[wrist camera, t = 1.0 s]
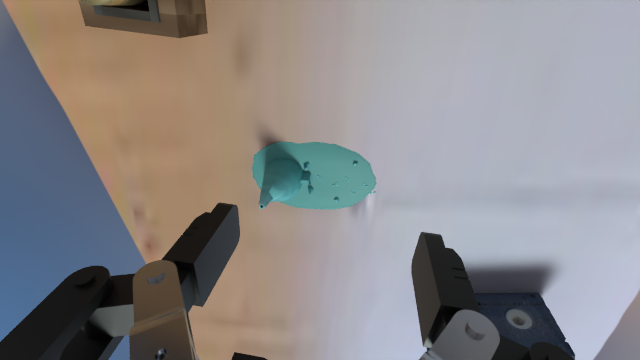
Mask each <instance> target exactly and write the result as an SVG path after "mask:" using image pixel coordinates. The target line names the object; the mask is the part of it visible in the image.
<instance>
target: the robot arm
mask: <svg viewBox="0 0 640 360" xmlns="http://www.w3.org/2000/svg"><path fill="white" fill-rule="evenodd" d="M239 237H240V227H239V216H238V207H237V205H233V204H226V203H218V204H217V205H216V207H215V208H214V209H213V210H212V212H211V213H208V212H205V213H204V214H202V215H200V216H199V217H197V218H196V219H195V220H194V221H193V222H192V223H191V224H190V226H189V228H187V229H186V231H185V232H184V233H183V235H181V237H180V238H179V239H178V240H177V241H176V243H175V244H174V245H173V246H172V248H171V249H170V250H169V251H168V252H167V254H166V255H165V256H164V257H163V258H162V260H158V261H154V262H151V263H148V264H146V265H145V266H143V267H142V268H141V269H139V270H138V271H137V272H136V273H135V274H127V275H117V276H111V275H110V273H109V271H108V269H107V268H105V267H103V266H90V267H86V268H83V269H80V270H78V271H76V272H74V273H72V274H71V275H70V276H68V277H67V278H66V279H65V280H64V281H63V282H62V283H61V284H60V285H59V286H58V287H56V289H55V290H53V291H52V292H51V293H50V294H49V295H48V296H47V297H46V298H45V299H44V300H43V301H42V302H41V303H40V304H39V305H38V306H37V307H36V308H35V309H34V310H33V311H32V312H31V313H30V314H29V315H28V316H27V317H25V318H24V319H23V320H22V321H21V322H20V323H19V324H18V325H17V326H16V327H15V328H14V329H13V330H12V331H11V332H10V333H9V334H8V335H7V336H6V337H5V338H4V339H3V340H2V341H1V342H0V360H108V359H109V358H110V356H111V355H112V353H113V352H114V350H115V349H116V347H117V346H118V344H119V343H120V341H121V340H122V339H123V337H124V336H125V335H129V340H130V341H129V343H130V360H197V355H196V350H195V345H194V340H193V335H192V330H191V325H190V320H189V315H188V312H189V311H190V309H191V307H192V306H193V305H195V306H201V307H203V306H204V304H205V302H206V300H207V298H208V297H209V295H210V293H211V291H212V289H213V288H214V286H215V284H216V282H217V280H218V279H219V277H220V275H221V273H222V271H223V270H224V268H225V266H226V264H227V262H228V261H229V259H230V257H231V255H232V254H233V252H234V250H235V248H236V246H237V244H238V241H239ZM412 278H413V285H414V291H415V298H416V304H417V310H418V317H419V323H420V330H421V336H422V342H423V347H428V348H430V350H429V351H428V352H425V353H424V354H423V355H422V356H421V358H420V359H419V360H575V359H574V358H573V357H572V356H570V355H569V354H568V353H567V352H565V351H564V350H562V349H561V348H559V347H557V346H555V345H553V344H550V343H547V342H536V343H534V344H533V345H532V346H531V347H530V348H528V347H526V346H523V345H521V344H519V343H517V342H514V341H512V340H510V339H508V338H506V337H504V336H502V335H500V334H499V333H498V331H497V329H496V327H495V326H494V324H493V323H492V322H491V321H490V320H489V319H488V318H486V317H485V316H483V315H482V314H481V312H480V309H479V306H478V303H477V301H476V298H475V295H474V292H473V289H472V287H471V284H470V281H469V280H468V276H467V273H466V272H465V267H464V265H463V262H462V259H461V258H460V257H459V255H458V254H457V253H456V252H455V251H454V250H453V249H450V248H445V245H444V242H443V239H442V236H441V235H439V234H432V233H425V232H422V233H421V234H420V236H419V240H418V243H417V246H416V249H415V253H414V256H413V259H412ZM232 360H267V359H265V358H262V357H257V356H252V355H247V354H241V353H236V352H234V355H233V357H232Z"/></svg>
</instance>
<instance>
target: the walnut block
mask: <svg viewBox="0 0 640 360" xmlns="http://www.w3.org/2000/svg"><path fill="white" fill-rule="evenodd" d="M79 4H80V7H81V11H82V15H83V18H84V22H85V26H91V27H98V28H106V29H114V30H122V31H129V32H137V33H145V34H153V35H160V36H168V37H176V38H182V37H188V36H194V35H200V34H206V33H207V21H206V10H205V0H148V6H149V7H147V6H143V4H142V5H87V4H85V3H82V2H80V1H79Z"/></svg>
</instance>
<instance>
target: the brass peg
mask: <svg viewBox="0 0 640 360" xmlns="http://www.w3.org/2000/svg"><path fill="white" fill-rule="evenodd" d="M79 1H80V2H82V3H85V4H87V5H142V4H144V3H146V2H147V1H148V0H79Z"/></svg>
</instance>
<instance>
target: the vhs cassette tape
mask: <svg viewBox="0 0 640 360" xmlns="http://www.w3.org/2000/svg"><path fill="white" fill-rule="evenodd" d="M474 295H475V298H476V301H477V303H478V306H479V309H480V312H481V314H482V315H483V316H485V317H486V318H488V319H489V320H490V321H491V322H492V323H493V324H494V326H495V327H496V329H497V331H498V333H499V334H500V335H502V336H504V337H506V338H508V339H510V340H512V341H514V342H517V343H519V344H521V345H523V346H526V347H528V348H530V347H531V346H532V345H533V344H534V343H536V342H547V343H550V344H553V345H555V346H557V347H559V348H561V349H562V350H564V351H565V352H567V353H568V354H569V355H570V356H572V357H573V358H574V359H575V354H574V352H573V350H572V349H571V347H570V345H569V343H567V342H565V339H566V338H565V337H564V335H563V333H562V332H561V330H560V328H559V326H558V325H557V323H556V321H555V319H554V317H553V316H552V314H551V312H550V310H549V309H548V308H547V306H546V305H545V302H544V300H543V298H542V297H541V296H540V294H539V293H474ZM429 350H430V348H428V347H427V352H428V351H429Z"/></svg>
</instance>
